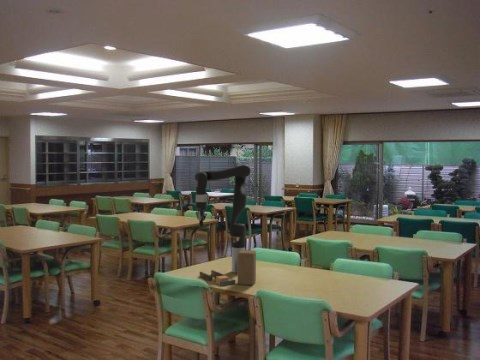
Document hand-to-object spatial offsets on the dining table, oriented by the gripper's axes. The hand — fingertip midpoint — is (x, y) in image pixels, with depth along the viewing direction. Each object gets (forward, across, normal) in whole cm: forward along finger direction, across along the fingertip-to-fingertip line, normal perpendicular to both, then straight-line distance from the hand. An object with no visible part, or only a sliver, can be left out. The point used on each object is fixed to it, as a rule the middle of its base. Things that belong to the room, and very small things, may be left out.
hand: (201, 226), depth 328 cm
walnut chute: (+32, -19, +2) cm, 37 cm away
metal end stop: (+32, -40, +2) cm, 51 cm away
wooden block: (+32, -43, -10) cm, 55 cm away
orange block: (+32, -34, +2) cm, 47 cm away
